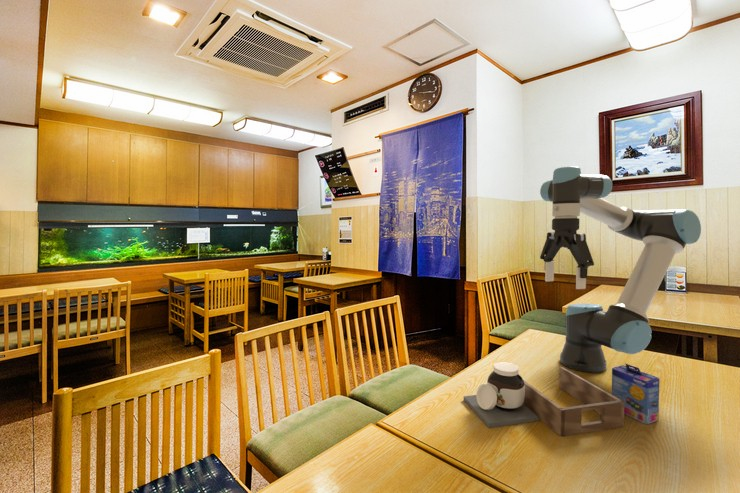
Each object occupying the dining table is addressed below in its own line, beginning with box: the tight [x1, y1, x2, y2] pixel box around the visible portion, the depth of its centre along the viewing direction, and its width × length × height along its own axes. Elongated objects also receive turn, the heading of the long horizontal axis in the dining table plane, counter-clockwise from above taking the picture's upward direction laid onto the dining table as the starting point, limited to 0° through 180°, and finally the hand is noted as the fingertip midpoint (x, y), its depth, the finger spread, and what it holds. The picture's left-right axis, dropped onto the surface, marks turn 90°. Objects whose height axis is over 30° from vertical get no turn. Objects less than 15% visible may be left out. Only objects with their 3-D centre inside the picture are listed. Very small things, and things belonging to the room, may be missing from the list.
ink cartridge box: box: [611, 363, 660, 425], centre depth 100 cm, size 10×6×14 cm, turn 23°
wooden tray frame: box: [523, 366, 625, 437], centre depth 103 cm, size 23×19×7 cm
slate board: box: [463, 394, 539, 429], centre depth 104 cm, size 15×15×1 cm
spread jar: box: [475, 361, 525, 411], centre depth 103 cm, size 12×11×12 cm
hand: (564, 284), depth 112 cm, fingers open, 13 cm apart
